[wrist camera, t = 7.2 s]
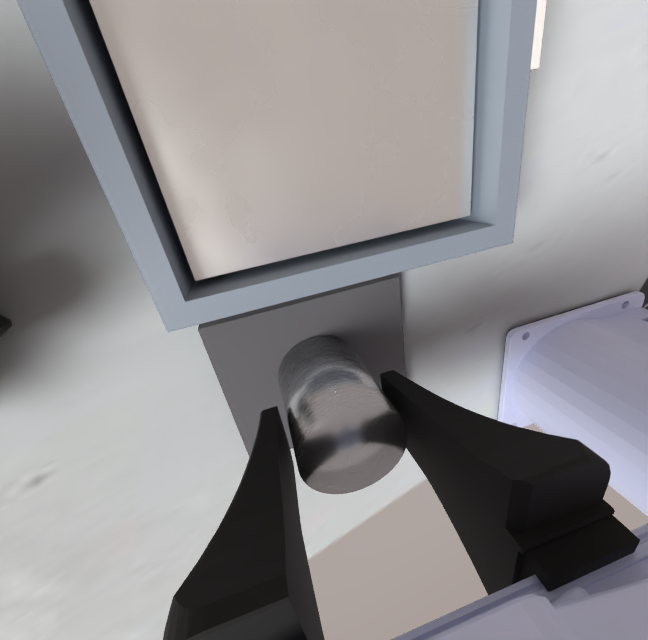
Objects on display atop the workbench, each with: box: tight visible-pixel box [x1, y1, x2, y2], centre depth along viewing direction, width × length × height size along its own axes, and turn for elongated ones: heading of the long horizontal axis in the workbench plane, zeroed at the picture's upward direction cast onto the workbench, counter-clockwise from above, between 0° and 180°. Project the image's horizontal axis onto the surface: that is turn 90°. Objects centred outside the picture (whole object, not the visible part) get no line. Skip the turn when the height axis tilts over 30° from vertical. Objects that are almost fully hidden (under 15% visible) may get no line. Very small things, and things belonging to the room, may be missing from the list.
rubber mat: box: [198, 274, 406, 457], centre depth 15 cm, size 9×8×1 cm
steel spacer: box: [278, 335, 408, 494], centre depth 13 cm, size 4×4×5 cm
